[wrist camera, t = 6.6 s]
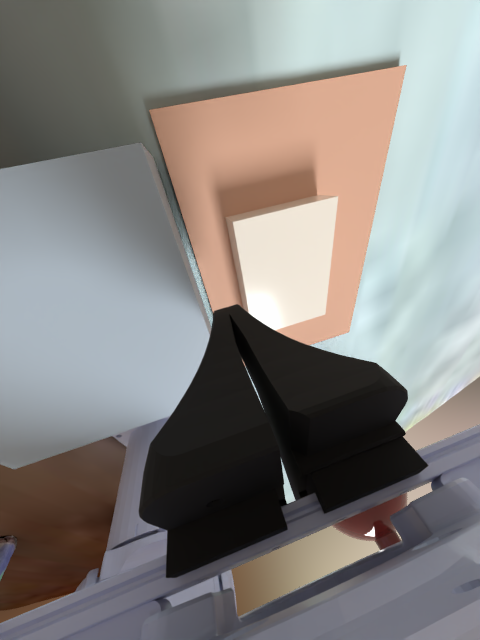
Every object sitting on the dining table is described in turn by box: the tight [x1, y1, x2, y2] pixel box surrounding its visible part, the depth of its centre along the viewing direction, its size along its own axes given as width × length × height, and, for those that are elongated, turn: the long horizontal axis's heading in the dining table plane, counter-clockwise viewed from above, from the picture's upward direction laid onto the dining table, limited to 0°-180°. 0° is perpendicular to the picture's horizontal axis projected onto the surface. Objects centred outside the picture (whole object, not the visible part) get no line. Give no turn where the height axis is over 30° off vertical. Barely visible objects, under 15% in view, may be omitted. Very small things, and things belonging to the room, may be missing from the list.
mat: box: [149, 65, 406, 366], centre depth 15 cm, size 18×13×1 cm
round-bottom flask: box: [332, 493, 407, 550], centre depth 25 cm, size 13×13×20 cm
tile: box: [225, 195, 338, 330], centre depth 13 cm, size 8×6×2 cm
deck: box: [0, 142, 212, 469], centre depth 12 cm, size 15×16×4 cm
